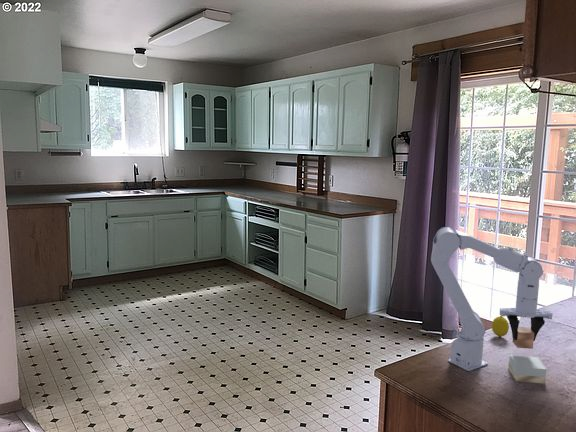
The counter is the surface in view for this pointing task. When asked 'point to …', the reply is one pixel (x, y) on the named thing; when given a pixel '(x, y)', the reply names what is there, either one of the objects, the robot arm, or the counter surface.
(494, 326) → the lemon
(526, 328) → the block
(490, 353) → the counter surface
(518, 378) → the tower base
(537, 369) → the tower top
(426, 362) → the counter surface
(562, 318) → the counter surface
